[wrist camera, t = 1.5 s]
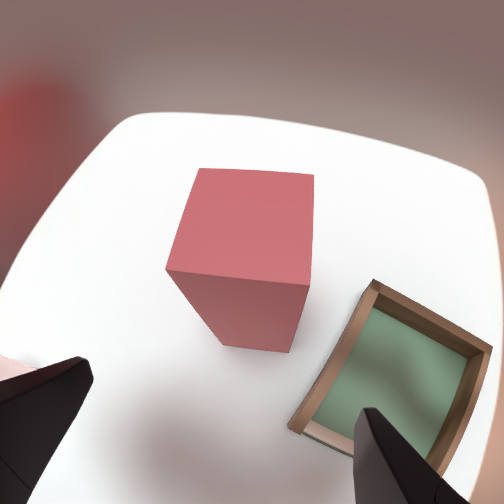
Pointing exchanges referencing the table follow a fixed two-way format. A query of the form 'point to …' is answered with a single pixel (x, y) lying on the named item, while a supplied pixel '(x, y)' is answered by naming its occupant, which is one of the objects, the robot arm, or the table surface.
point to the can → (12, 368)
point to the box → (397, 377)
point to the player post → (246, 254)
